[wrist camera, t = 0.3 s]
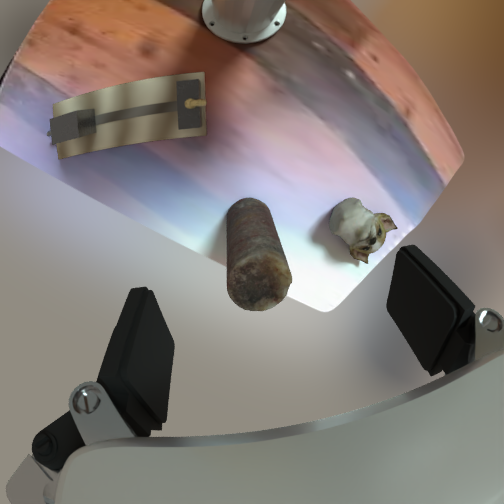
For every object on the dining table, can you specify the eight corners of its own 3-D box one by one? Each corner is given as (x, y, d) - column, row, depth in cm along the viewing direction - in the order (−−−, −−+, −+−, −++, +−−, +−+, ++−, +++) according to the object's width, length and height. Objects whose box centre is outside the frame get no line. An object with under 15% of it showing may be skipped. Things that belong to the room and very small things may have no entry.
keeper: (182, 128, 37) (175, 131, 32) (180, 83, 33) (173, 79, 29) (209, 125, 37) (207, 128, 32) (208, 80, 34) (205, 76, 29)
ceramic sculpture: (369, 194, 37) (416, 240, 43) (345, 176, 44) (391, 219, 50) (325, 248, 41) (378, 283, 47) (308, 223, 48) (359, 258, 54)
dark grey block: (50, 144, 34) (30, 152, 29) (47, 122, 32) (27, 127, 27) (96, 132, 35) (79, 137, 30) (94, 108, 33) (76, 110, 28)
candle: (216, 222, 47) (214, 297, 29) (240, 186, 44) (253, 244, 27) (254, 242, 49) (271, 322, 32) (278, 210, 47) (311, 277, 29)
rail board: (62, 157, 37) (58, 159, 36) (57, 104, 32) (52, 104, 31) (206, 134, 39) (206, 135, 38) (204, 73, 34) (203, 71, 33)
